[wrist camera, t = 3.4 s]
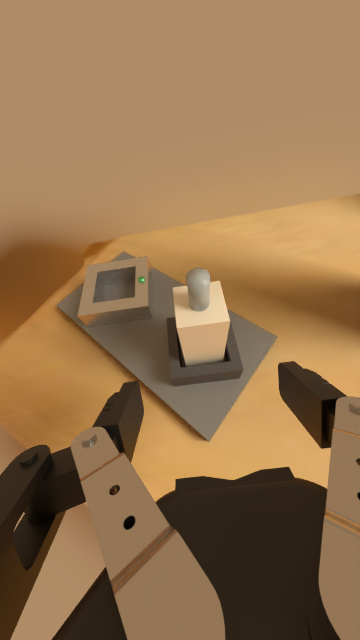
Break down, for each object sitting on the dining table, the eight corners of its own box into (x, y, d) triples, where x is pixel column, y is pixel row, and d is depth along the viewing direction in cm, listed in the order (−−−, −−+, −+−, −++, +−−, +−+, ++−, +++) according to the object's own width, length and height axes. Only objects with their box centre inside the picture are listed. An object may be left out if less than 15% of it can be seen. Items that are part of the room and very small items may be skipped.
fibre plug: (183, 339, 26) (166, 260, 15) (215, 335, 26) (221, 252, 15) (187, 370, 24) (170, 304, 13) (222, 366, 24) (234, 295, 13)
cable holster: (170, 330, 27) (166, 318, 25) (225, 322, 27) (227, 309, 24) (174, 386, 23) (170, 378, 21) (239, 378, 23) (243, 369, 20)
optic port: (96, 279, 34) (86, 264, 31) (151, 271, 33) (147, 255, 30) (88, 327, 29) (76, 315, 26) (153, 318, 28) (147, 304, 26)
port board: (126, 258, 38) (123, 251, 36) (274, 342, 26) (277, 336, 25) (62, 310, 33) (56, 305, 32) (208, 441, 22) (208, 441, 20)
